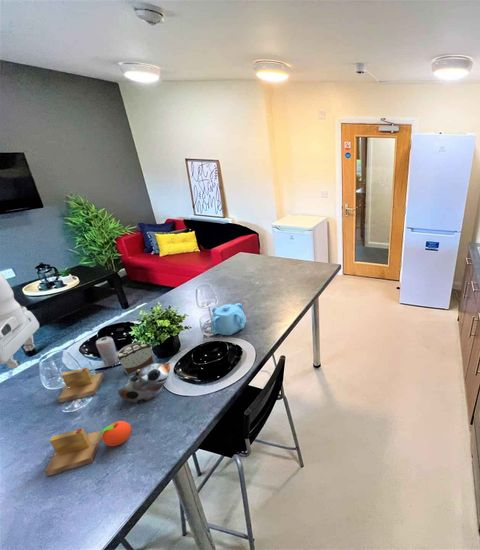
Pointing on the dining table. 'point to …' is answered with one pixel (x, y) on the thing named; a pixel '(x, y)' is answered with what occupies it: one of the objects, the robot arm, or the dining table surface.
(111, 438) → the clementine
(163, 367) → the lucky cat figurine
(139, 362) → the food container
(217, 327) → the decorative pot
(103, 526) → the dining table surface
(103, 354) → the pillar candle
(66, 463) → the wooden board
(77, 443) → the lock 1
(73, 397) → the plate
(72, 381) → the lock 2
